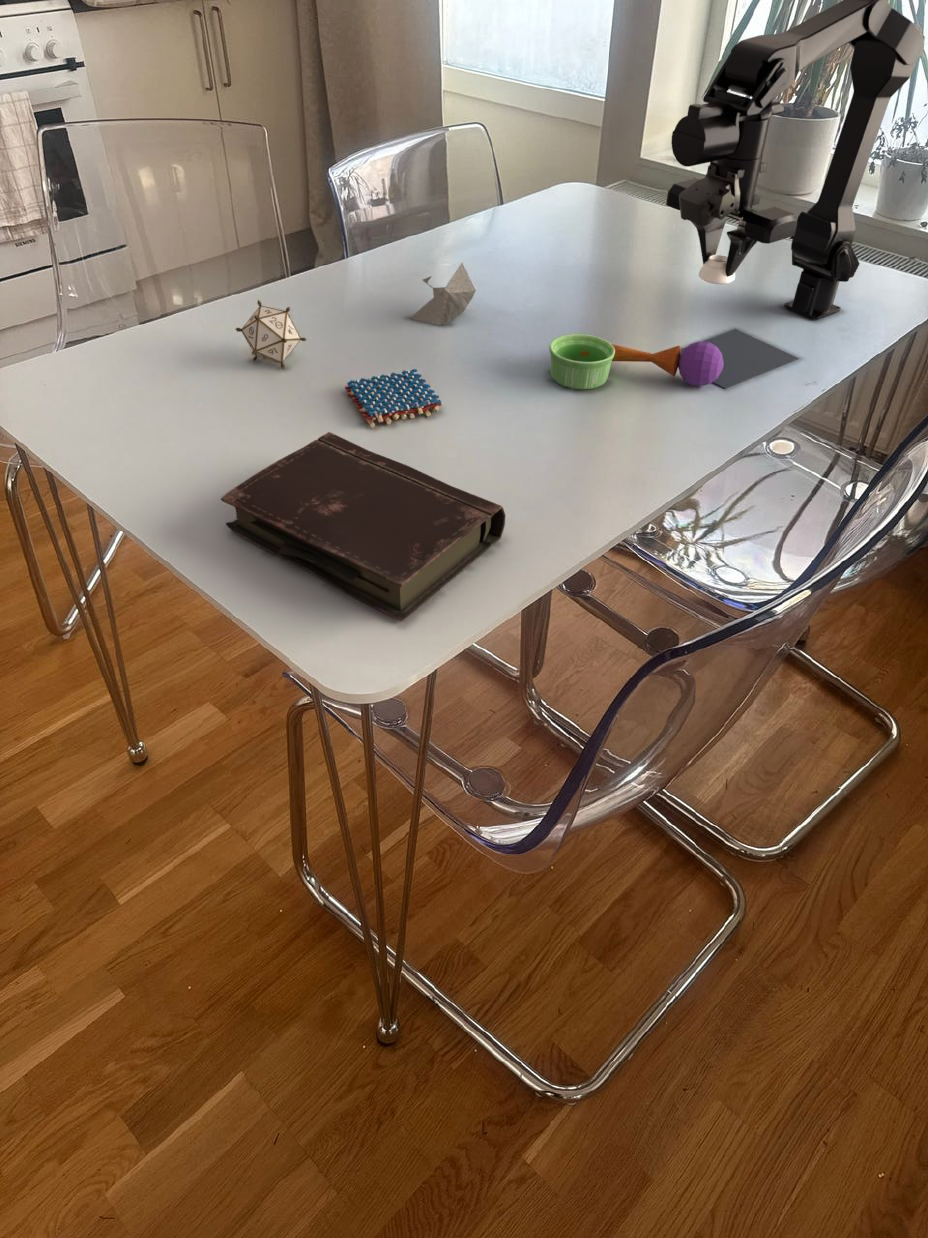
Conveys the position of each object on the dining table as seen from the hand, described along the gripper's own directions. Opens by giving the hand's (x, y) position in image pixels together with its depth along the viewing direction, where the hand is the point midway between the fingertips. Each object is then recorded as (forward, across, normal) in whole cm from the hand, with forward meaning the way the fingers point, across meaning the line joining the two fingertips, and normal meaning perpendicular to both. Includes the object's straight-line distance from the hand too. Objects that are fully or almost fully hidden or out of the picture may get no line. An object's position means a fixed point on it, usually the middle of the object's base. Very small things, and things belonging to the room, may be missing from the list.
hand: (717, 272), depth 133 cm
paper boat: (+11, -30, -26) cm, 41 cm away
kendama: (+11, +2, -14) cm, 18 cm away
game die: (+11, -31, -56) cm, 64 cm away
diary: (+11, +12, -67) cm, 69 cm away
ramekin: (+11, -2, -23) cm, 25 cm away
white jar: (+1, 0, 0) cm, 1 cm away
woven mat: (+11, -11, -48) cm, 51 cm away
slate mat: (+11, +5, 0) cm, 12 cm away
